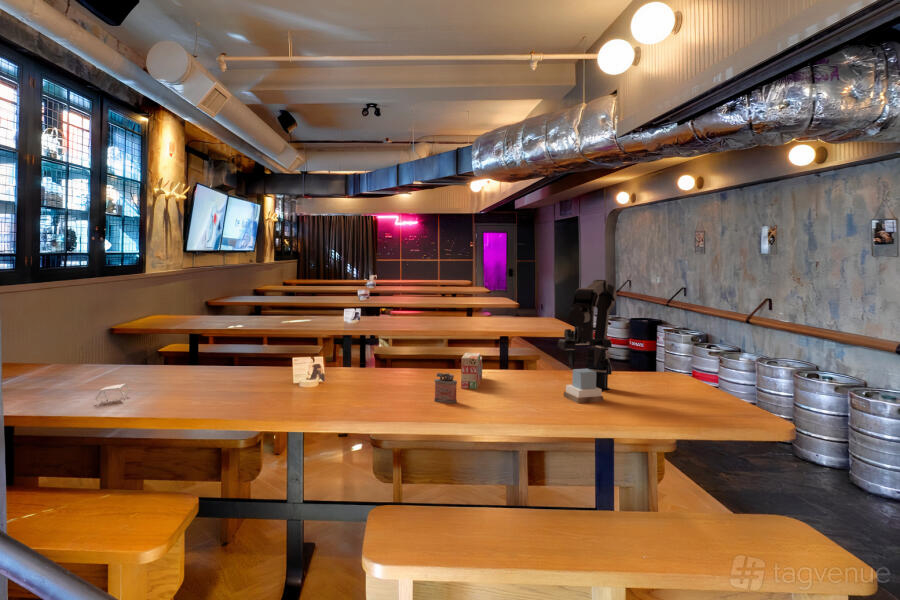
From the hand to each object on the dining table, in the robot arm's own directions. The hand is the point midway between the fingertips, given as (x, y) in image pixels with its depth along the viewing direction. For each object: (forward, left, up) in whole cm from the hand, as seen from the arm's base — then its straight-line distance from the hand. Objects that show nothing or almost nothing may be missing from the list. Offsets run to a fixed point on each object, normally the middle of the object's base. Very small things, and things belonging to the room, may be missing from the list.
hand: (584, 367), depth 191 cm
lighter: (+49, -8, -12) cm, 51 cm away
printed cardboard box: (+30, -34, -12) cm, 47 cm away
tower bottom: (0, 0, -12) cm, 12 cm away
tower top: (0, 0, -10) cm, 10 cm away
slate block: (0, 0, -7) cm, 7 cm away
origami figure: (+157, -37, -12) cm, 162 cm away
